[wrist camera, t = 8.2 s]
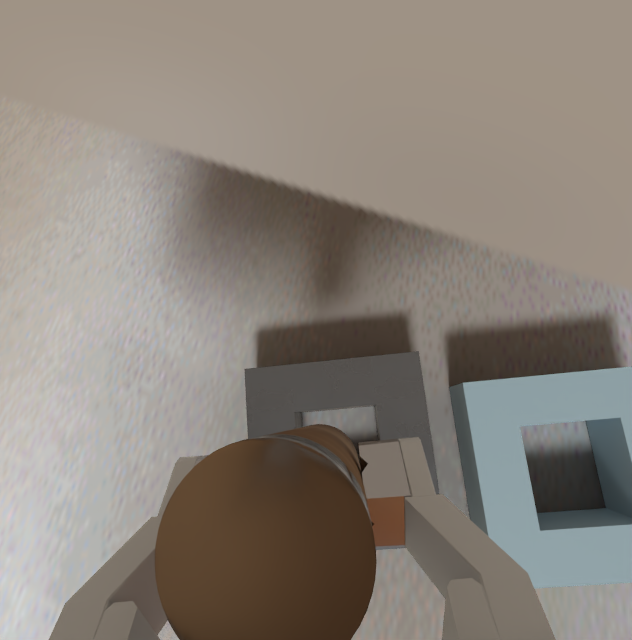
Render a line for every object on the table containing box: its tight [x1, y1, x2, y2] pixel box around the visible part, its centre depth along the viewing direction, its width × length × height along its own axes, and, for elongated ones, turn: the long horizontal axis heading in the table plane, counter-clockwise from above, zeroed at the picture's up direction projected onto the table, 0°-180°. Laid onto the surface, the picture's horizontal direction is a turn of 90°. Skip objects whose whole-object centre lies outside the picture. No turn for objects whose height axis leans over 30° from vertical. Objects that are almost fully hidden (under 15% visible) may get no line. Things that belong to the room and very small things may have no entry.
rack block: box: [449, 367, 632, 588], centre depth 23 cm, size 10×10×4 cm
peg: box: [155, 424, 376, 640], centre depth 11 cm, size 3×3×11 cm
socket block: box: [245, 351, 439, 550], centre depth 25 cm, size 10×10×3 cm
